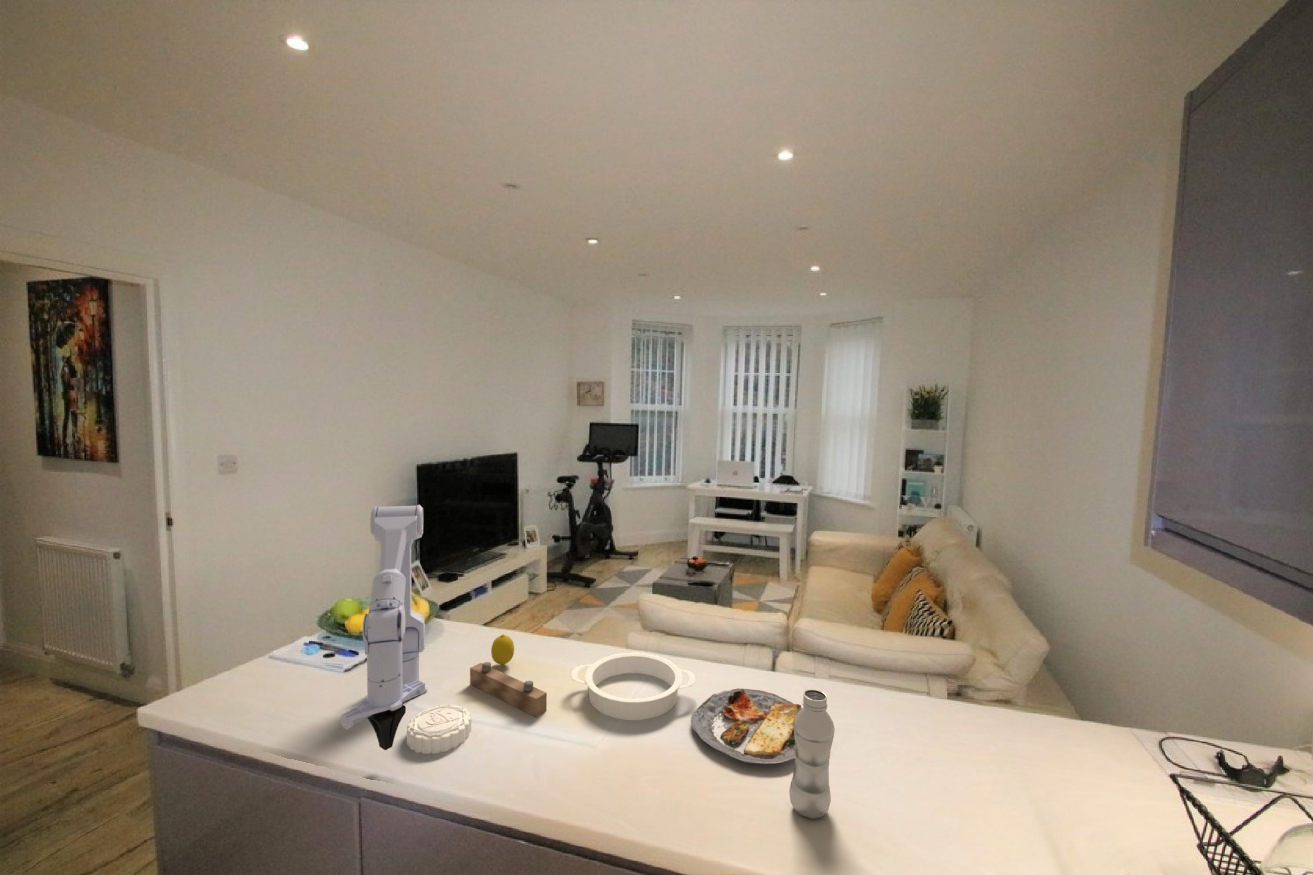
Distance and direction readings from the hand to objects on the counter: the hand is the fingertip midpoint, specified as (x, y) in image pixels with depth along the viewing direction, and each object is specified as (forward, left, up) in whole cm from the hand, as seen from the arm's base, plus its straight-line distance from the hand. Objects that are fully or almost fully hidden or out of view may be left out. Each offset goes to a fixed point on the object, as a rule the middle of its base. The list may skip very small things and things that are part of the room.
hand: (385, 746), depth 99 cm
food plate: (+50, +50, -4) cm, 71 cm away
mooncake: (0, +11, -4) cm, 12 cm away
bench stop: (0, +28, -4) cm, 28 cm away
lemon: (-12, +37, -4) cm, 39 cm away
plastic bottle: (+67, +35, -4) cm, 76 cm away
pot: (+22, +46, -4) cm, 51 cm away
